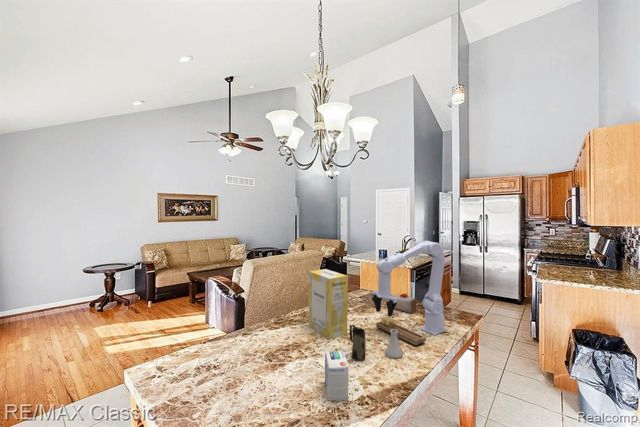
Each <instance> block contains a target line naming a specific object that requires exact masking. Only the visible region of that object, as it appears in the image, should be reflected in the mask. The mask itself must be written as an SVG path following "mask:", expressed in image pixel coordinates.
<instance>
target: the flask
mask: <svg viewBox="0 0 640 427" xmlns="http://www.w3.org/2000/svg"><path fill="white" fill-rule="evenodd" d="M390 332H391V333H390V337H389V338H390V339H389V340H388V344H387V347H386V349H385V351H384V354H385V356H386V357H387V358H391V359H393V360H396V359H402V358H403V354H404V353H403V351H402V349H401V345H400V341H399V338H398V337H397V333H398V331H397V330H395V329H391V330H390Z"/></svg>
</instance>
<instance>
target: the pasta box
mask: <svg viewBox="0 0 640 427" xmlns="http://www.w3.org/2000/svg"><path fill="white" fill-rule="evenodd" d="M348 277H349V276H348V275H346V274H343V273H339V272H337V271H333V270H330V269H327V268H324V269H317V270H309V271H308V327H310V328H312V330H315V331H316V332H317V333H319V334H320V335H322V336H324V337H325V338H327V339H328V340H332V339H335V338H338V337H341V336H344V335H347V334H348V305H349V304H348V297H349V296H348V293H349V291H348V288H349V287H348V286H349V284H348V282H349V278H348Z"/></svg>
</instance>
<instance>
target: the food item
mask: <svg viewBox="0 0 640 427" xmlns="http://www.w3.org/2000/svg"><path fill="white" fill-rule="evenodd" d="M393 296H394V297H396V298H397V304H396V306H395V308H394V310H396V311H401V312H404V313H407V314H410V315H414V314H415V313H417V312H418V311H417V298H414V297H411V296H409V295H408V293H402V294H393Z"/></svg>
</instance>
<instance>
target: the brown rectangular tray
mask: <svg viewBox="0 0 640 427" xmlns="http://www.w3.org/2000/svg"><path fill="white" fill-rule="evenodd" d="M375 324H376V327H377V328H378V329H381V330H383V331H385V332H387V333H390V334H391V332H390V330H391V329H395V330H397V331H398V333H397V337H398V339H402V340H404V341H406V342H408V343H410V344H412V345H415V346H417V345H420V344H422V343H425V342H427V341H426V340H427V338H426V336H423V335H421V334H419V333H417V332H414V331H412V330H410V329H408V328H406V327H404V326H401V325H398V324H397V323H395V327H392V328H389V327H386V326H384V325H382V324H381V321H379V322H376V323H375Z"/></svg>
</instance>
